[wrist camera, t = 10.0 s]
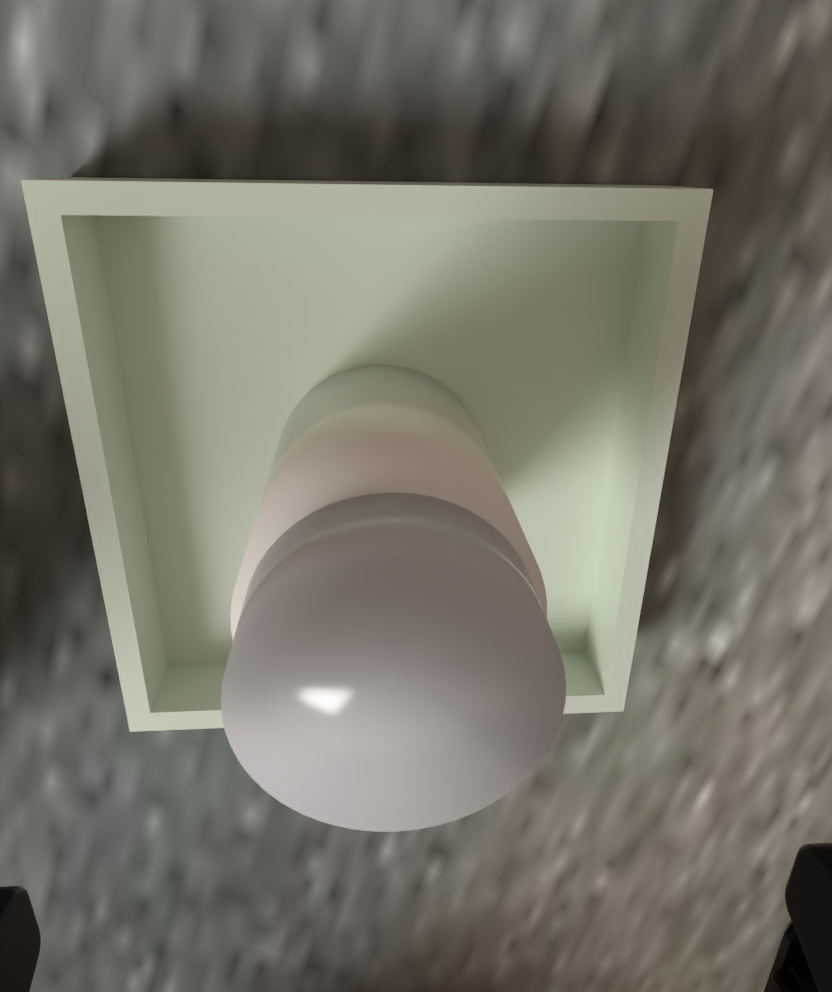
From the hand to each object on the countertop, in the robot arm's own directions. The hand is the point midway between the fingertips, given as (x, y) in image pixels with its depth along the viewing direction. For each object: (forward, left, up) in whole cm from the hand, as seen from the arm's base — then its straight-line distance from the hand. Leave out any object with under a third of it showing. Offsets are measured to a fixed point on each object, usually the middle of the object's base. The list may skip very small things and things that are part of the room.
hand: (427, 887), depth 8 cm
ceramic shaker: (0, -1, -11) cm, 11 cm away
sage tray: (0, -1, -12) cm, 12 cm away
